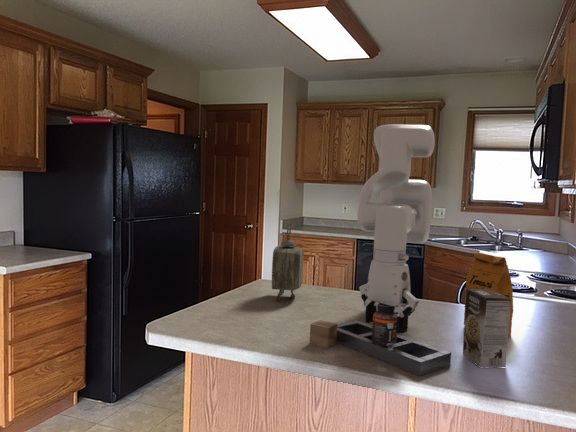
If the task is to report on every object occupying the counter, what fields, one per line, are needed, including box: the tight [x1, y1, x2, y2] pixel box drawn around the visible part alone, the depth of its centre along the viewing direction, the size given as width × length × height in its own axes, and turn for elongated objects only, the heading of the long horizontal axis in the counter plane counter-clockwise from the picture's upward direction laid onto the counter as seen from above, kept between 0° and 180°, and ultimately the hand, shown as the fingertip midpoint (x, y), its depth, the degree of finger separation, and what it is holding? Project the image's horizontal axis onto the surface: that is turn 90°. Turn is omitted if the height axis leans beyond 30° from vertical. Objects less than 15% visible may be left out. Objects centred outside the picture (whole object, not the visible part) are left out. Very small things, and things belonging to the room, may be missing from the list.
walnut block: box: [309, 319, 339, 349], centre depth 118 cm, size 5×5×5 cm
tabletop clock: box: [271, 225, 305, 302], centre depth 163 cm, size 14×9×25 cm, turn 172°
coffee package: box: [463, 251, 514, 338], centre depth 133 cm, size 10×12×22 cm
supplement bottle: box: [372, 303, 398, 346], centre depth 114 cm, size 6×6×11 cm
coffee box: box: [462, 288, 511, 368], centre depth 109 cm, size 9×6×16 cm
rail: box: [337, 320, 452, 377], centre depth 114 cm, size 29×11×3 cm, turn 38°
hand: (385, 327), depth 114 cm, fingers open, 9 cm apart
